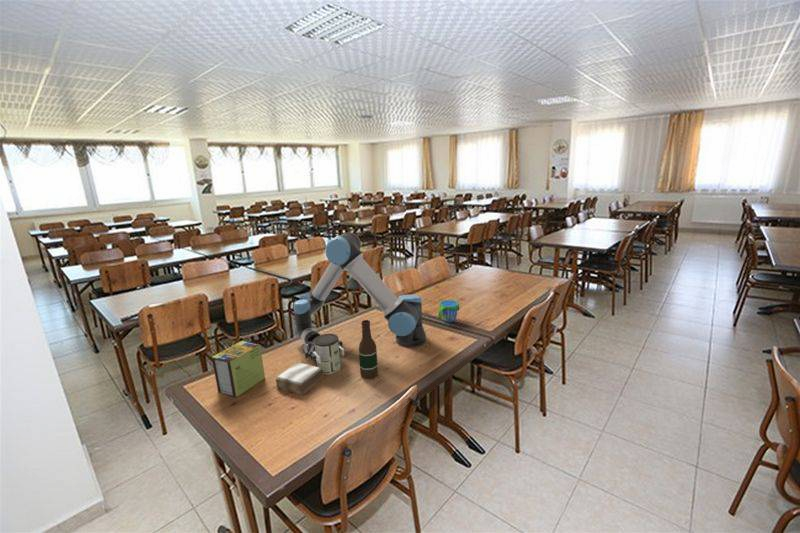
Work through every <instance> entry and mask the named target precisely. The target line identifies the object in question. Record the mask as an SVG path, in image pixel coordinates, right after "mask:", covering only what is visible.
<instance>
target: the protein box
mask: <svg viewBox="0 0 800 533" xmlns="http://www.w3.org/2000/svg"><path fill="white" fill-rule="evenodd" d="M211 361H212V366H213V372H214V377H215V378H214V379H215V382H216V383H215V384H216V388H217V392H218V393H220V392H221V393H220V394H223V393H224V394H225V395H227V396H231V397H233V396H234V398H237V396H238V397H239V396H240V394H241V395H242V394H244V393H245V392H246V391H248V390H249V389H251V388H252V387H254V386H255V385H257V384H258V383H259V382H261V381H262V380H264V379H265V378H266V376H265V375H266V374H265V369H264V363H263V356H262V349H261V344H260V343H255V342H249V341H245V340H240V341H239V342H237V343H235V344H233V345H231V346H230V347H227V348H226V349H224V350H223V351H221V352H218V353H217V354H214V355H213V356H212V357H211ZM224 394H223V395H224Z"/></svg>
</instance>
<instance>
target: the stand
mask: <svg viewBox="0 0 800 533" xmlns="http://www.w3.org/2000/svg"><path fill="white" fill-rule="evenodd" d="M323 379H324V374H323V370H322V369H321V368H319V367H317V366H315V365H310V364H306V363H301V362H296V363H295V364H293V365H292V366H290V367H288V368H287V369H286V370H284V371H283V372H282V373H280V374H279V375H278V376H277V378H275V382H276V389H279V390H282V391H285V392H290V393H292V394H296V395H297V394H298V395H301V396H304V395H305V394H306V393H307V392H309V391H310V390H311V389H312V388H313V387H315V386H316V385H317V384H318V383H320V382H321V381H322V380H323Z"/></svg>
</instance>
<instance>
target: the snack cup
mask: <svg viewBox="0 0 800 533" xmlns="http://www.w3.org/2000/svg"><path fill="white" fill-rule="evenodd" d="M438 306H439V309H438V314H437V316H438V318H439V319H441V320H442V321H443V322H445V323H453V322H455V321H456V320H457V315H458V312H459V311H460V303H459V302H458V301H457V300H454V299H445V300H442V301H439V304H438Z"/></svg>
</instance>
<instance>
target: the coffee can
mask: <svg viewBox="0 0 800 533" xmlns="http://www.w3.org/2000/svg"><path fill="white" fill-rule="evenodd" d="M338 340H339V336H338V335H337V334H336V333H325V334H320V336H318V337H316V338H315V339H314V343H315V352H316V353H317V354H318V355H319V356H320V358H321V363H320V364H319V363H318V362H317V361H316V365H317V366H316V367H319V368H321V369H322V370H323V375H332V374H335V373H337V372H339V371H340V370H341V368H342V365H341V364H342V363H341V362H342V361H341V354H340V352H339V342H338Z"/></svg>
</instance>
